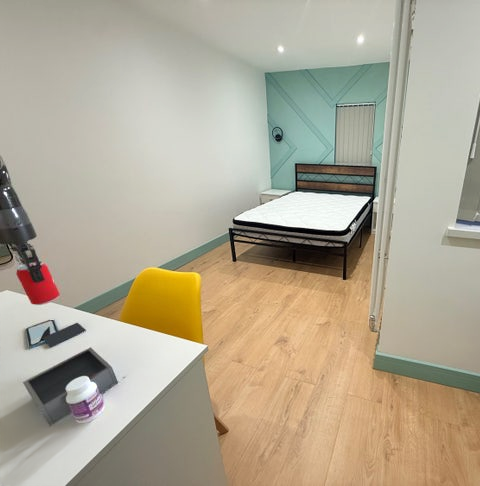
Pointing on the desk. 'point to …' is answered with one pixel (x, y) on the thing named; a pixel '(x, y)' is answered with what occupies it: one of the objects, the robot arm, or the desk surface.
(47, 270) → the beverage can
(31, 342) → the smartphone
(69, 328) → the mat
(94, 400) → the pill bottle
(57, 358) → the desk surface
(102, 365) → the basin
